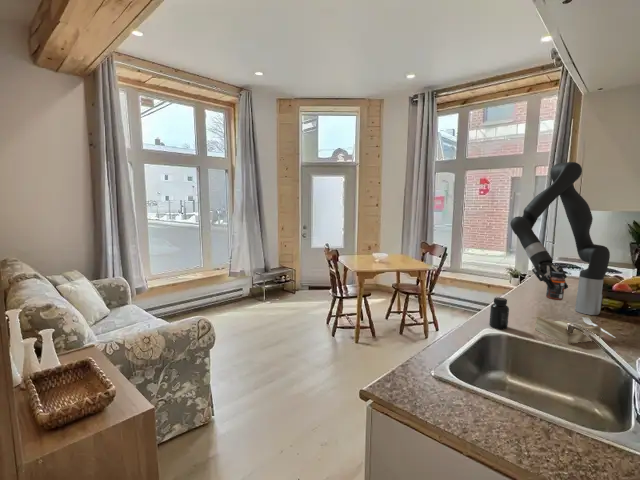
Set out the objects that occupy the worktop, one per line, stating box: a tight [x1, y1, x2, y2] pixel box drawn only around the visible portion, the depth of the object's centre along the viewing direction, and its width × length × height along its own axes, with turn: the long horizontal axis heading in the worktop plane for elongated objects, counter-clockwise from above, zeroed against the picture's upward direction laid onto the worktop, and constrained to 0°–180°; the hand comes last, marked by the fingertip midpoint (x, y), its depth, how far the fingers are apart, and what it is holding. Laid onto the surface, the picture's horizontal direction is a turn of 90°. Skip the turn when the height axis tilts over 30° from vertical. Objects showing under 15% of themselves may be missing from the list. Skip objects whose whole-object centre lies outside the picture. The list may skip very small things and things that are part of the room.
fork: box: [582, 316, 617, 339], centre depth 148 cm, size 3×20×2 cm, turn 172°
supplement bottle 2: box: [545, 271, 566, 301], centre depth 145 cm, size 6×6×11 cm
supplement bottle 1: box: [488, 296, 510, 330], centre depth 145 cm, size 7×7×12 cm
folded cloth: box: [534, 316, 602, 345], centre depth 139 cm, size 16×14×5 cm
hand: (559, 288), depth 144 cm, fingers closed on supplement bottle 2, 6 cm apart
